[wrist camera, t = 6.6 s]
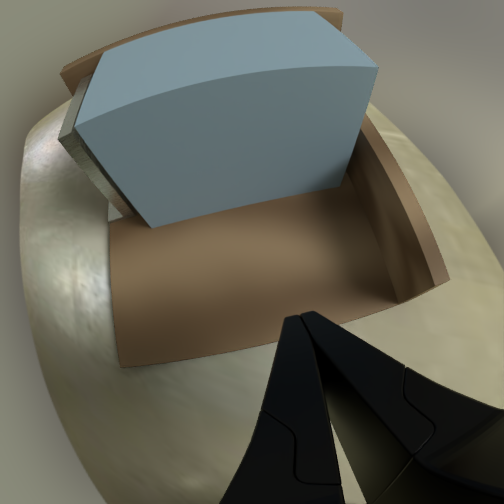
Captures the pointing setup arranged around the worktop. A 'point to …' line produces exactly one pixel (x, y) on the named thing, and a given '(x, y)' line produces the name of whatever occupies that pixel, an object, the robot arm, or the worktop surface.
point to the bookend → (92, 159)
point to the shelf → (267, 253)
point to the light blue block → (227, 112)
